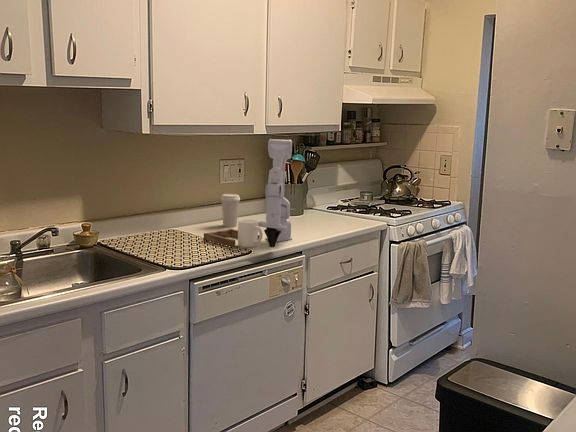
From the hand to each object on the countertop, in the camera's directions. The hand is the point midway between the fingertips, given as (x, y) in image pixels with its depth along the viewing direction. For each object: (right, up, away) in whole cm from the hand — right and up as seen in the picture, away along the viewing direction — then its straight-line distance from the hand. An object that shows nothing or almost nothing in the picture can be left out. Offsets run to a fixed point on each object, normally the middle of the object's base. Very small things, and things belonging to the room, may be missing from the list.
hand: (272, 246), depth 234 cm
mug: (-9, 0, +8) cm, 12 cm away
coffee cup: (-22, +7, +49) cm, 55 cm away
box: (-18, +2, +16) cm, 24 cm away
